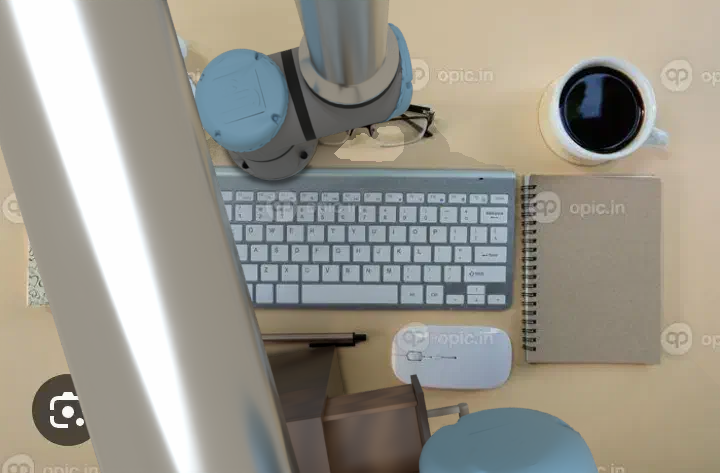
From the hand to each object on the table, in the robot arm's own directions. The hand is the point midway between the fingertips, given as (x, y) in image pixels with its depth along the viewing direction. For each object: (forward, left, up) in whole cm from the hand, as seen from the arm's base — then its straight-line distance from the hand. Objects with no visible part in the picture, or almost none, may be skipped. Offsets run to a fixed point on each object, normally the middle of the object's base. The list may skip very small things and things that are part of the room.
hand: (447, 437), depth 54 cm
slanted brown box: (+20, 0, -25) cm, 32 cm away
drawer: (+7, 0, -3) cm, 8 cm away
